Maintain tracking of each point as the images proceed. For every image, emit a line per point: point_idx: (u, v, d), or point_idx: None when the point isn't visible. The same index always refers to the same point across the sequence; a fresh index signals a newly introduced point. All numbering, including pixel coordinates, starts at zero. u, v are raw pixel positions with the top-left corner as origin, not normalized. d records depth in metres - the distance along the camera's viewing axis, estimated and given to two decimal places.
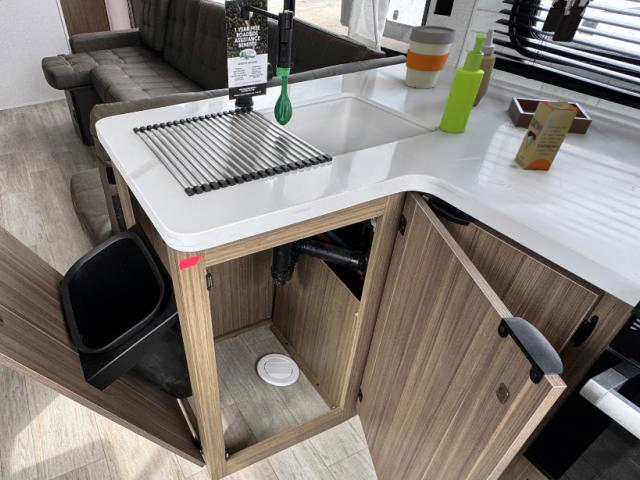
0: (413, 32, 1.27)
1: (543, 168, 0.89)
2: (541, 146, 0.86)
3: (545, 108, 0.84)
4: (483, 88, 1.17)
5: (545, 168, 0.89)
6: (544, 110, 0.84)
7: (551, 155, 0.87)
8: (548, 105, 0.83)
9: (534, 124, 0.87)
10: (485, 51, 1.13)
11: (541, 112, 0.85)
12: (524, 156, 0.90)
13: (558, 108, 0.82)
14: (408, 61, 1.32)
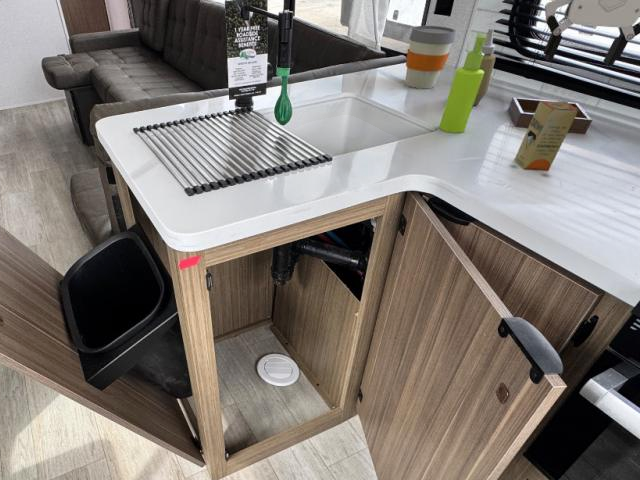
0: (413, 32, 1.27)
1: (543, 168, 0.89)
2: (541, 146, 0.86)
3: (545, 108, 0.84)
4: (483, 88, 1.17)
5: (545, 168, 0.89)
6: (544, 110, 0.84)
7: (551, 155, 0.87)
8: (548, 105, 0.83)
9: (534, 124, 0.87)
10: (485, 51, 1.13)
11: (541, 112, 0.85)
12: (524, 156, 0.90)
13: (558, 108, 0.82)
14: (408, 61, 1.32)
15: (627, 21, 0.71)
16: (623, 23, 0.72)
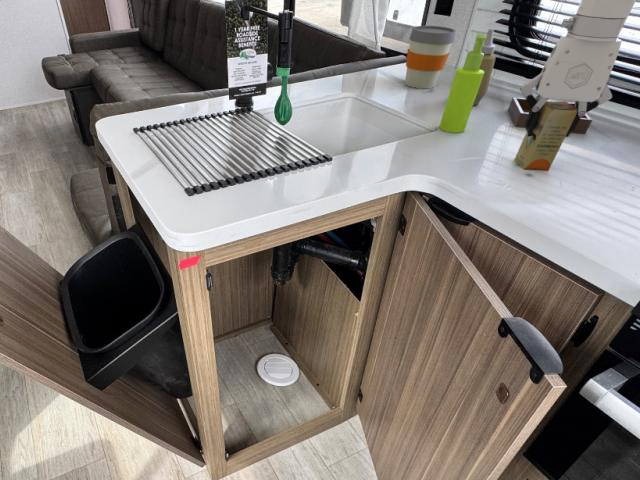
0: (413, 32, 1.27)
1: (543, 168, 0.89)
2: (541, 146, 0.86)
3: (545, 108, 0.84)
4: (483, 88, 1.17)
5: (545, 168, 0.89)
6: (544, 110, 0.84)
7: (551, 155, 0.87)
8: (548, 105, 0.83)
9: None
10: (485, 51, 1.13)
11: (541, 112, 0.85)
12: (524, 156, 0.90)
13: (558, 108, 0.82)
14: (408, 61, 1.32)
15: (590, 97, 0.79)
16: (587, 98, 0.79)
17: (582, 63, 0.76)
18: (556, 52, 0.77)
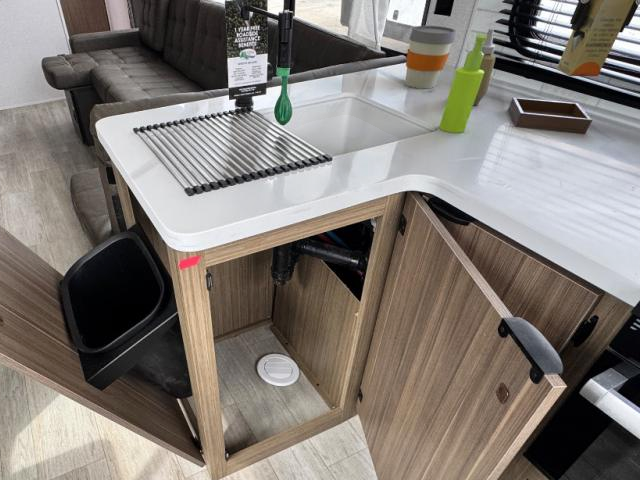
0: (413, 32, 1.27)
1: (592, 74, 0.78)
2: (591, 45, 0.75)
3: None
4: (483, 88, 1.17)
5: (594, 73, 0.78)
6: (595, 1, 0.73)
7: (602, 56, 0.76)
8: None
9: None
10: (485, 51, 1.13)
11: (591, 4, 0.74)
12: (570, 61, 0.79)
13: None
14: (408, 61, 1.32)
15: None
16: None
17: None
18: None
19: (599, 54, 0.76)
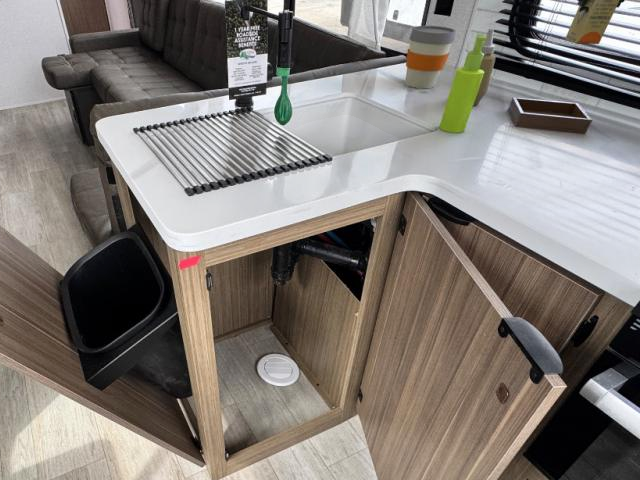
0: (413, 32, 1.27)
1: (594, 42, 0.96)
2: (594, 17, 0.93)
3: None
4: (483, 88, 1.17)
5: (596, 42, 0.96)
6: None
7: (602, 27, 0.94)
8: None
9: None
10: (485, 51, 1.13)
11: None
12: (576, 31, 0.97)
13: None
14: (408, 61, 1.32)
15: None
16: None
17: None
18: None
19: (600, 25, 0.94)
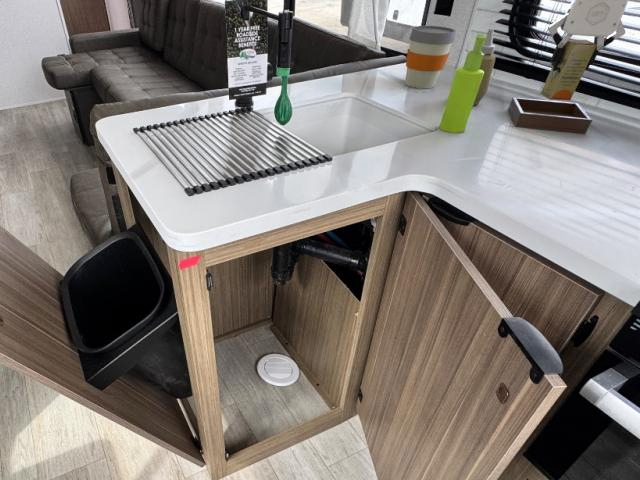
0: (413, 32, 1.27)
1: (566, 98, 1.06)
2: (565, 78, 1.03)
3: (569, 44, 1.00)
4: (483, 88, 1.17)
5: (567, 98, 1.06)
6: (567, 46, 1.01)
7: (573, 86, 1.04)
8: (571, 41, 1.00)
9: None
10: (485, 51, 1.13)
11: (565, 48, 1.01)
12: (550, 88, 1.06)
13: (580, 43, 0.99)
14: (408, 61, 1.32)
15: (607, 32, 0.96)
16: (604, 33, 0.96)
17: (601, 2, 0.93)
18: None
19: (571, 84, 1.04)
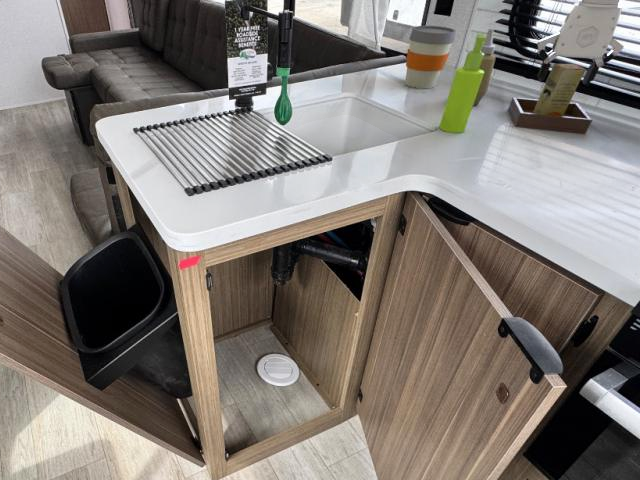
0: (413, 32, 1.27)
1: None
2: (555, 100, 1.06)
3: (558, 68, 1.04)
4: (483, 88, 1.17)
5: None
6: (557, 71, 1.04)
7: (563, 108, 1.07)
8: (561, 66, 1.03)
9: (549, 83, 1.07)
10: (485, 51, 1.13)
11: (555, 72, 1.05)
12: (540, 110, 1.09)
13: (569, 68, 1.02)
14: (408, 61, 1.32)
15: (597, 54, 0.98)
16: (594, 55, 0.99)
17: (591, 26, 0.96)
18: (569, 17, 0.97)
19: (561, 107, 1.07)
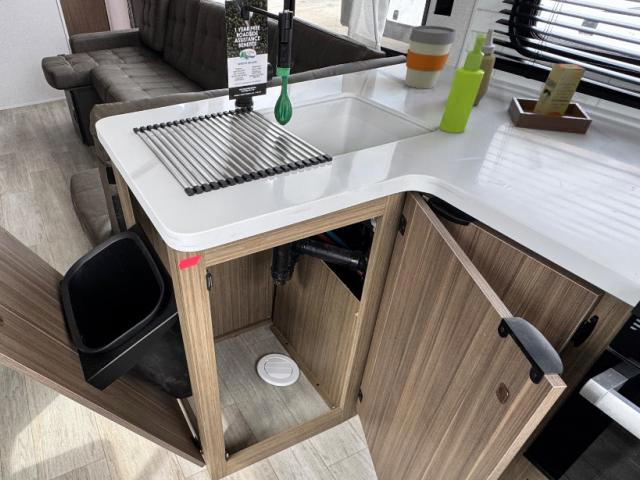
0: (413, 32, 1.27)
1: None
2: (555, 100, 1.06)
3: (558, 68, 1.04)
4: (483, 88, 1.17)
5: None
6: (557, 71, 1.04)
7: (563, 108, 1.07)
8: (561, 66, 1.03)
9: (549, 83, 1.07)
10: (485, 51, 1.13)
11: (555, 72, 1.05)
12: (540, 110, 1.09)
13: (569, 68, 1.02)
14: (408, 61, 1.32)
15: None
16: None
17: None
18: None
19: (561, 107, 1.07)
